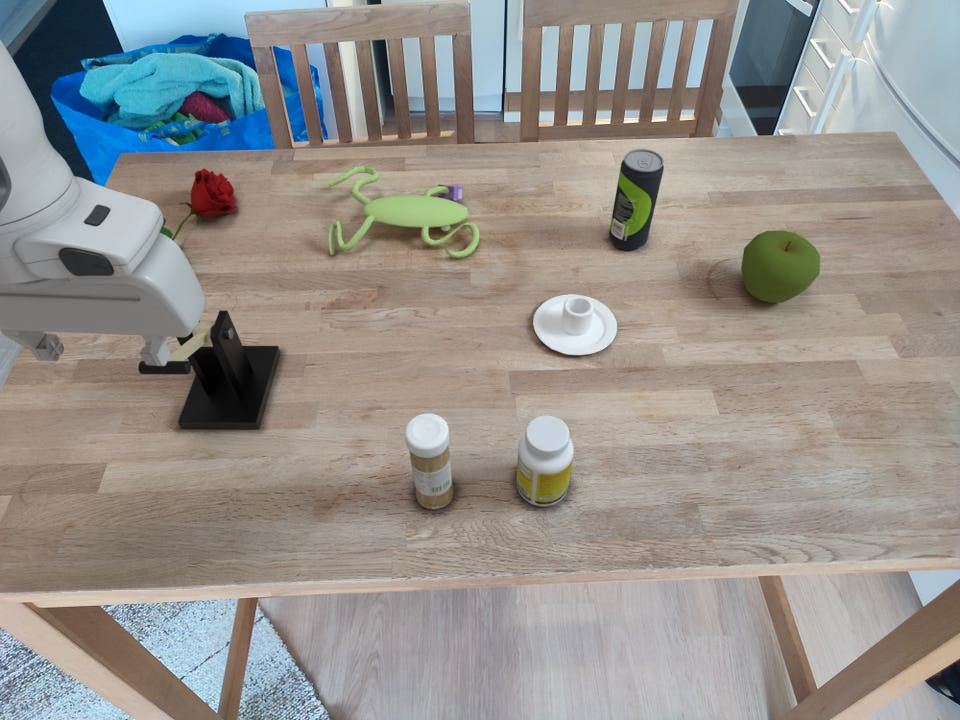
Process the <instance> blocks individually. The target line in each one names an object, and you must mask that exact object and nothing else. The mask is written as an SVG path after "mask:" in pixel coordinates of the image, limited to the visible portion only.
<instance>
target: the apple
mask: <svg viewBox="0 0 960 720" xmlns="http://www.w3.org/2000/svg"><path fill="white" fill-rule="evenodd" d="M820 269H821V255H820V253H819V252H818V250H817V248H816V247H815V245H813V244H812V243H811V242H810V241H809V240H807V239H806V238H805V237H803V236H802V235H799V234H797V232H792V231H787V230H766V231H764V232H761V233H759V234H757V235H755V237H753V238H752V239H751V240H750V241H749V242H748V243H747V245H746V246H744V248H743V253H742V261H741V267H740V271H741V275H742V279H743V282H744V286H745V289H746V291H748V292H749V294H750V295H752V297H755V298H757V299H758V300H760V301H763V302H767V303H775V304H776V303H777V304H778V303H780V304H781V303H784V302H787V301H789V300H791V299H793V298H795V297H796V296H799V295H800V294H802V293H804V292H805V291H806V290H807V289H808V288H809V287H810V286H811V285H812V284H813V283H814V281H816V279H817V278H818V277H819V275H820Z"/></svg>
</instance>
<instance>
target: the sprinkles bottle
mask: <svg viewBox="0 0 960 720" xmlns="http://www.w3.org/2000/svg"><path fill="white" fill-rule="evenodd" d="M404 438H405V444H406V447H407V449H408V450H409V451H408V452H409V460H410V465H411V471H412V477H413V483H414V486H415V496H416V500H417V502H418V503H419V504H420V506H421V507H423V508H425V509H428V510H432V511H433V510H434V511H436V510H441V509H443V508H445V507H447V506H448V505H449V504H450V503H451V502H452V500H453V498H454V494H455V489H454V485H453V472H452V462H451V453H450V447H449V446H450V445H449V444H450V440H451V439H450V428H449V425H448V423H447V421H446V420H445V419H444V418H443V417H441V416H440V415H438V414H435V413H428V412H427V413H426V412H425V413H420V414H418V415H415V416H414V417H413V418H411V419H410V420H409V422H408V423H407V425H406V426H405V430H404Z"/></svg>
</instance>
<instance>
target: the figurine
mask: <svg viewBox="0 0 960 720" xmlns="http://www.w3.org/2000/svg"><path fill="white" fill-rule="evenodd" d="M357 174H368V175H369V176H365V177H361V178H360V179H357V180H356V181H355V182H353V184H352V186H351V191H350V194H351V195H352V197H353V198H354V199H355V200H356V201H358V202H359V203H360V204H362V205H363V208H362V211H363V213H364V215H365V216H366V218H365V220H364V221H363V223H362V224H361V226H360V228H359V229H358V230H356V232H355V233H354V235H353V236H352V238H351V239H350V240H349V241H348V242H347V243H345V242H344V240H343V229H342V225H341V221H340V220H338V219H332V220H331V221H330V225H329V228H328V247H329V254H330V255H331V256H333V255H335V253H336V249H335V233H336V229H337V236H336V237H337V238H336V239H337V245H338V247H339V248H340V250H341V251H342V252H345V251H347V252H348V251H351V250H352V249H354V248H355V247H356V246H357V245H358V243H359V242H360V241H361V239H362V238H364V236H365V235H366V233H368V232H369V229H370V228H371V226H372V224H373V223H374V222H379V223H382V224H384V225H385V224H386V225H389V226H395V227H402V228H411V229H418V228H419V229H420V230H421V233H420V237H421V239H422V241H423V243H425V244H426V245H428V246H438V245H440V244H442V243H443V242H445V241H447V240H448V239H449V238H451V237H452V236H453V235H454V234H455V233H456V232H457V231H458V230H459V229H460V228H461V227H468V228H469V229H470V230H471V235H472V238H471V241H470V243H469V244H468V246H467V247H465V249H463V250H460V251H452V250H450V249H449V248H448V247H446V246H445V247H444V251H445V253H446V254H447V255H448V256H450V257H451V258H453V259H454V258H455V259H462V258H465V257H468V256H470V255H471V254H472V253H473V252H474V251H475V250H476V249H477V247H478V245H479V242H480V236H481V233H480V229H479V227H478V226H477V225H476V224H475V222H470V221H467V222H463V221H465V220H467V219H468V217H469V215H470V212H469V210H468V209H467V207H466V206H464V205H462V204H461V203H459V202H457V201H463V199H464V186H460V185H459V186H457V185H447V184H446V185H444V184H438V185H437V186H435V187H431V188H428V189H426V191H425V192H424V194H423V195H419V194H399V195H389V196H383V197H379V198H375V199H372V200H371V199H369V198H367V197H366V196H364V195H363V194H361V193H360V192H359V190H360V188H361V187H363V186H365V185H368V184H372V183H375V182H377V181H378V180H379V179H380V174H379V172H378V170H376V169H375V168H373V167H370V166H366V165H361V166H360V165H358V166H354V167H351V168H350V169H349V170H348V171H346V172H344V173H342V174H341V175H339V176H336V177H334V178H330V179H328V181H327V184H328V188H331V187H334V186H337V185H338V184H341V183H342V182H345V181H346V180H349V179H350V178H351V177H353V176H355V175H357ZM436 194H437V196H434V195H436ZM461 222H463V223H462V224H460V225H459V226H458V227H456V228H455V229H453V230H452V231H451V232H450V233H447V234H446V235H445V236H443V237H441V238H440V239H436V240H434V239H432V238H430V235H429V230H430V229H431V228H433V229H434V228H440V229H441V230H442V231H443V232H448V231H449V230H450V229H451V226H452V225H456V224H459V223H461Z"/></svg>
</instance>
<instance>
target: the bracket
mask: <svg viewBox="0 0 960 720" xmlns="http://www.w3.org/2000/svg"><path fill="white" fill-rule="evenodd" d="M200 321H201V319H200V320H199V322H200ZM214 321H215V324H214V327H213V329H212V332H211V334H210V339H211V341H212V343H213V345H214V346H213V347H200V348H199V349H197V350H196V351H195V352H194V353H193V354H191V355H190V356H189V357H188V358H187V359H186V360H187V361H189V362H190V364H191V369H192V370H193V372H194V373H195V376H194V378H193V380H192V383H191V387H190V389H189V392H188V395H187V397H186V400H185V402H184V405H183V407H182V410H181V413H180V416H179V418H178V420H177V423H178V425H179V427H180V428H181V429H182V430H183V429H184V430H188V429H189V430H260V427H261V424H262V421H263V417H264V414H265V411H266V406H267V403H268V399H269V396H270V392H271V389H272V384H273V382H274V378H275V374H276V371H277V368H278V364H279V361H280V356H281V350H280V347H279V346H278V345H243V344H242V341H241V339H240V337H239V334H238V332H237V330H236V327H235V325H234V322H233V320H232V318H231V316H230V313H229V310H219V311H218V314H217V315H216V319H215V320H214ZM199 322H198V323H199ZM192 337H193V333H191V334H190V335H189V336H187V337H175V338H176V340H177V342H178V344H179V345H180V346H179V347H181V346H182V345H183V344H185V343H186V342H187V341H188V340H190V339H191V338H192Z"/></svg>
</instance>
